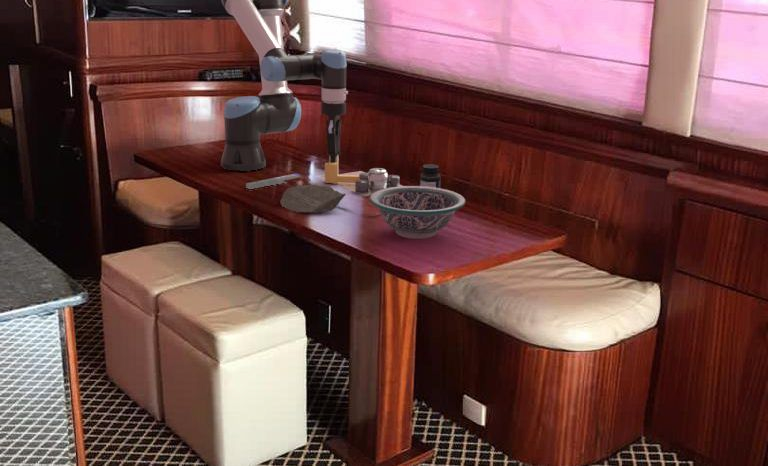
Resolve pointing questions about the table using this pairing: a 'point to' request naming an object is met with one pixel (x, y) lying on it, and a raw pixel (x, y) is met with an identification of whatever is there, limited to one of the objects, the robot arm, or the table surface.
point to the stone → (311, 198)
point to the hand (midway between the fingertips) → (333, 175)
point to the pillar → (271, 181)
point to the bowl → (417, 209)
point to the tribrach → (370, 182)
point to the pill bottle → (430, 176)
